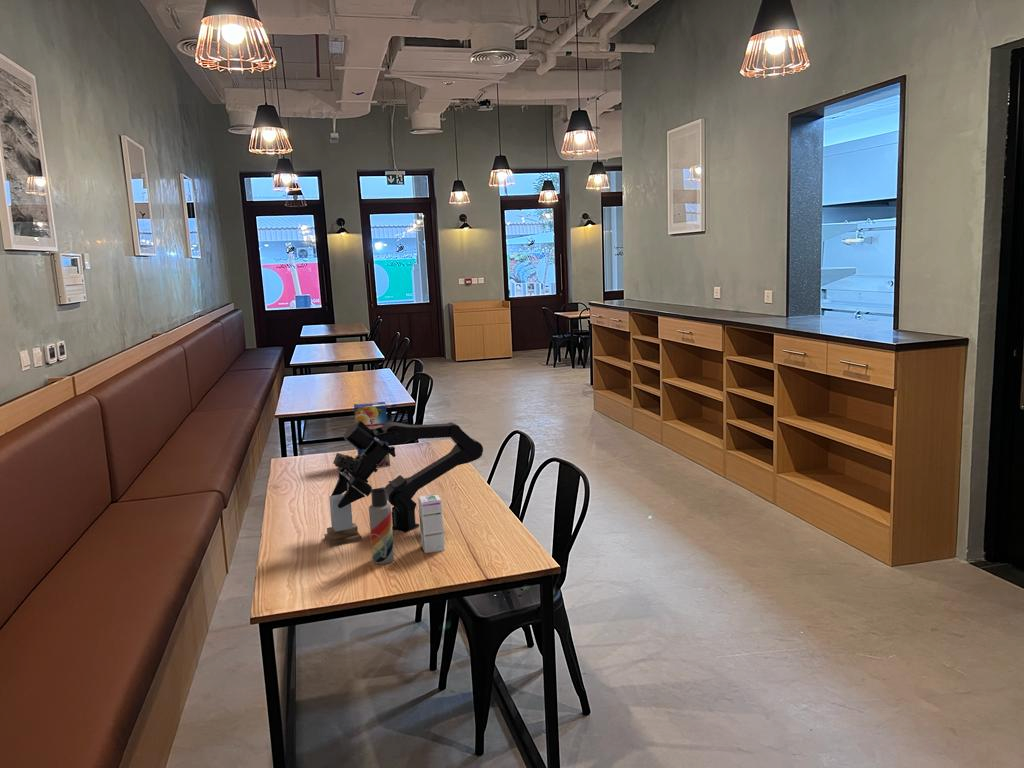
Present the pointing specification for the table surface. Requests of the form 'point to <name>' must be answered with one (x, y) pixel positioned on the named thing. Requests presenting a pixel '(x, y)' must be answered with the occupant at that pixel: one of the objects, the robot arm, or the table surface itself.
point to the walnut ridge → (342, 536)
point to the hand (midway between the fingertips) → (335, 502)
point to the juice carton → (372, 421)
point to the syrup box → (431, 523)
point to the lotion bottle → (381, 527)
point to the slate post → (340, 514)
